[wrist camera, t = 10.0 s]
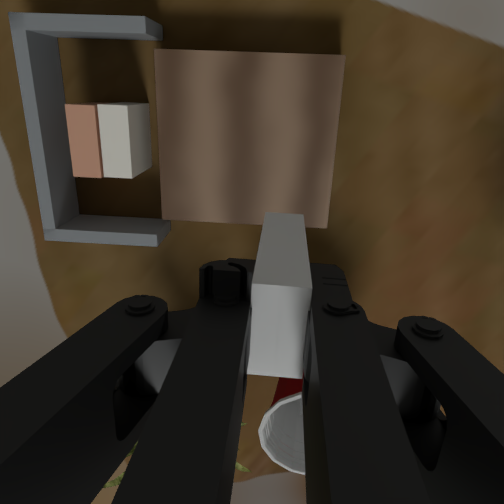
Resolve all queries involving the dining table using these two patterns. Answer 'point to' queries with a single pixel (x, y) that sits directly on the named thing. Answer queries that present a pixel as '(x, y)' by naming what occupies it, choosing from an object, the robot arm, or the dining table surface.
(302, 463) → the plastic cup
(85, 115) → the terracotta tile
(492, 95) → the dining table surface
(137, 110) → the cream tile
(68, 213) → the box
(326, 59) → the walnut plate
